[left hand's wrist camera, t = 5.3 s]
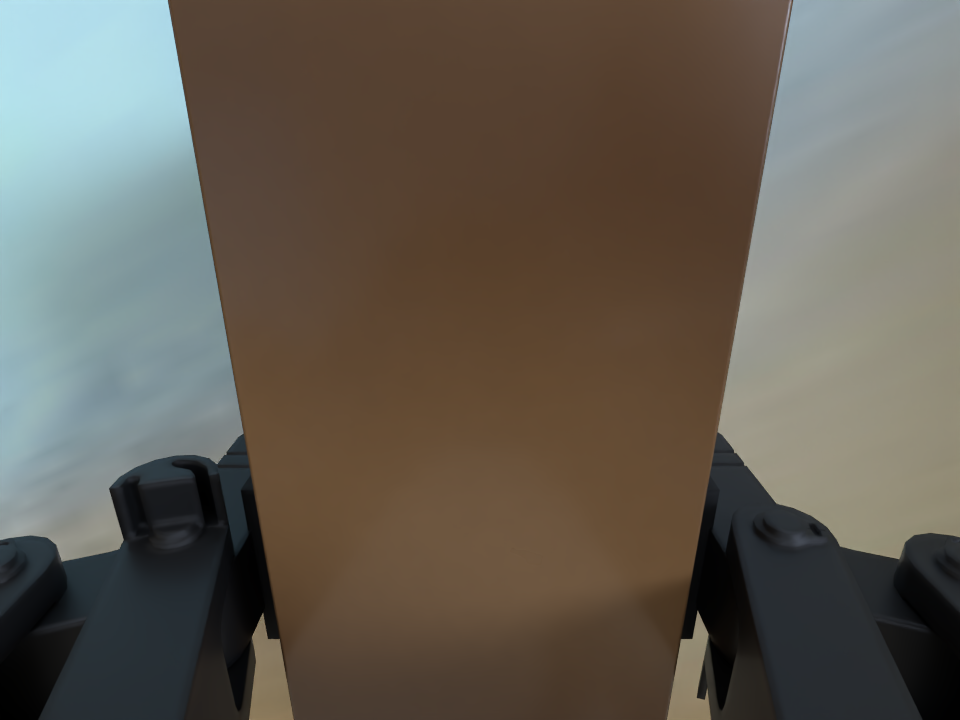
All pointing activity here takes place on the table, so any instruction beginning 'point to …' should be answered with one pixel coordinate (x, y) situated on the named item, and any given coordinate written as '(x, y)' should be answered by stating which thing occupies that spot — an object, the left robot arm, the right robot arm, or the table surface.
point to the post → (480, 329)
